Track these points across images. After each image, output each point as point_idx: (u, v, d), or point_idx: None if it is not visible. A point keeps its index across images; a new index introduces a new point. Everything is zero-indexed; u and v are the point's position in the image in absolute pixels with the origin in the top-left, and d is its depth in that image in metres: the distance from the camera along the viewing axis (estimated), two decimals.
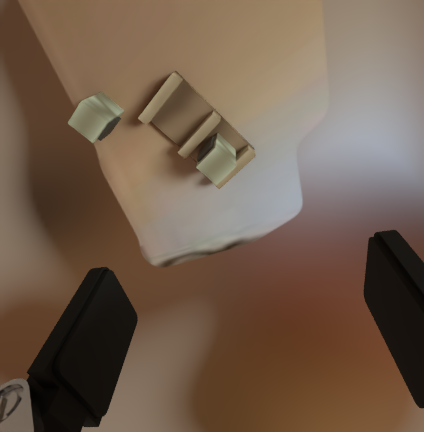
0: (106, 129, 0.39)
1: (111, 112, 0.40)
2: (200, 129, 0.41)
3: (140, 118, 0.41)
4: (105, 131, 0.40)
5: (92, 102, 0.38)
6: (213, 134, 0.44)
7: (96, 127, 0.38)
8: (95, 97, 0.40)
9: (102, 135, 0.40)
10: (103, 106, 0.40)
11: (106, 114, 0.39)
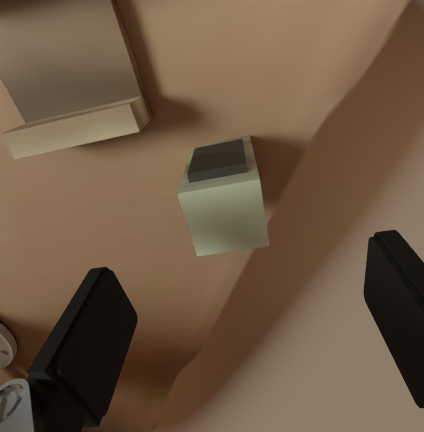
0: (205, 174, 0.14)
1: None
2: None
3: (133, 127, 0.15)
4: (212, 172, 0.14)
5: None
6: None
7: (213, 201, 0.14)
8: None
9: (228, 169, 0.14)
10: None
11: None
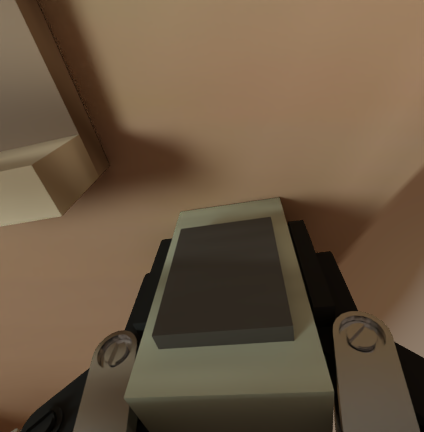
0: (195, 339, 0.06)
1: None
2: None
3: (47, 208, 0.07)
4: (210, 336, 0.06)
5: None
6: None
7: (212, 413, 0.06)
8: None
9: (248, 334, 0.06)
10: None
11: None
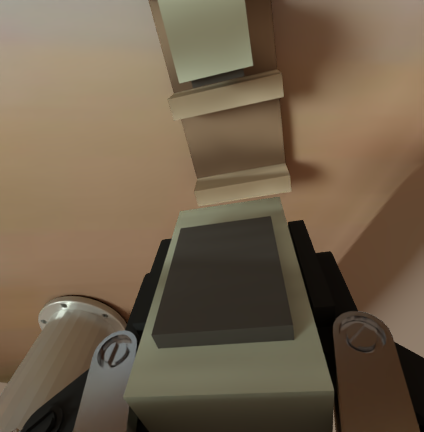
0: (194, 338, 0.06)
1: None
2: (210, 109, 0.20)
3: (287, 188, 0.23)
4: (210, 335, 0.06)
5: None
6: None
7: (212, 412, 0.06)
8: None
9: (248, 333, 0.06)
10: None
11: None
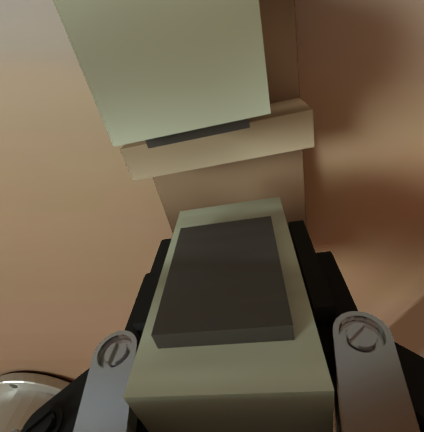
0: (194, 338, 0.06)
1: None
2: (191, 165, 0.12)
3: None
4: (210, 336, 0.06)
5: None
6: None
7: (212, 413, 0.06)
8: None
9: (248, 334, 0.06)
10: None
11: None
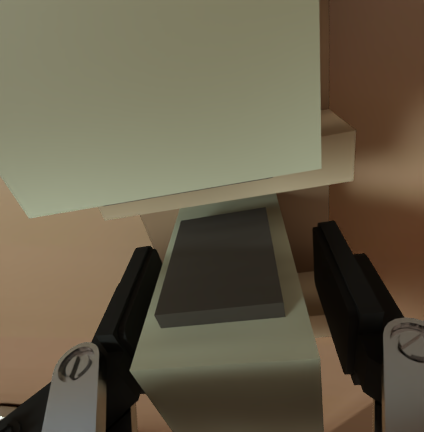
0: (194, 317, 0.07)
1: None
2: (182, 202, 0.09)
3: None
4: (208, 314, 0.06)
5: None
6: None
7: (211, 384, 0.06)
8: None
9: (243, 312, 0.06)
10: None
11: None
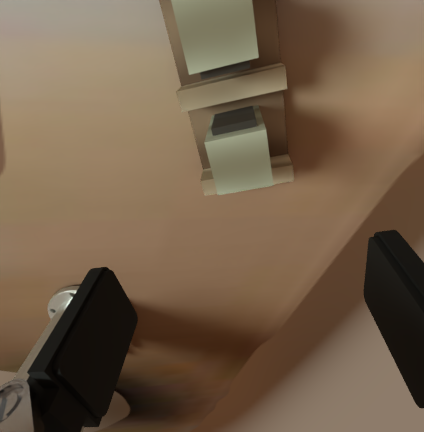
0: (225, 129, 0.19)
1: None
2: (216, 101, 0.21)
3: (290, 178, 0.24)
4: (230, 127, 0.18)
5: None
6: None
7: (231, 148, 0.18)
8: None
9: (242, 124, 0.18)
10: None
11: None
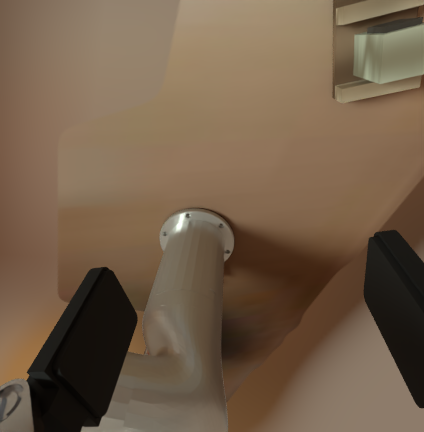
0: (396, 26, 0.25)
1: (367, 44, 0.27)
2: (374, 14, 0.27)
3: (417, 84, 0.30)
4: (401, 24, 0.25)
5: (372, 72, 0.27)
6: None
7: (403, 39, 0.24)
8: (364, 75, 0.29)
9: (411, 22, 0.24)
10: (367, 58, 0.28)
11: (374, 46, 0.26)
